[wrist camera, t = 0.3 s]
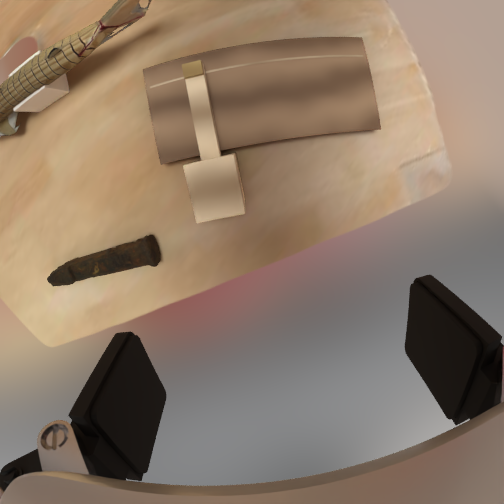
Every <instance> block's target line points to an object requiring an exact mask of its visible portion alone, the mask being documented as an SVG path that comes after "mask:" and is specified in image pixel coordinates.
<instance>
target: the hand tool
mask: <svg viewBox="0 0 504 504" xmlns="http://www.w3.org/2000/svg"><path fill="white" fill-rule="evenodd" d="M159 262H160V252H159V249H158V245H157V242H156V240H155V238H154V237H153V235H149V236H145V237H144V238H143V239H138V240H137V241H136V242H131V243H126V244H123V245H119V246H116V248H110V249H107V250H104V251H101V252H98V253H94V254H91V255H88V256H85V257H81V258H75V259H73V260H71V261H68V262H67V263H65V264H64V265H62V266H59V267H58V268H57V269H56V270H55V271H53V272H52V273H51V274H50V276H49V277H48V278H47V280H48V282H49V283H51V284H52V286H61V285H70V284H73V283H74V282H76V281H80V280H83V279H87V278H91V277H97V276H102V275H107V274H111V273H115V272H120V271H124V270H129V269H133V268H136V267H141V266H146V265H150V266H154V267H155V266H157V265H158V263H159Z"/></svg>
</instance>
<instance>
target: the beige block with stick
mask: <svg viewBox="0 0 504 504" xmlns="http://www.w3.org/2000/svg"><path fill="white" fill-rule="evenodd" d="M182 69H183V75H184V78H185V81H186V86H187V91H188V97H189V102H190V107H191V112H192V117H193V122H194V128H195V132H196V137H197V142H198V147H199V152H200V157H201V160H198V161H194V162H191V163H188V164H186V165H183V168H184V172H185V177H186V181H187V186H188V190H189V194H190V199H191V203H192V207H193V212H194V216H195V220H196V223H201V222H206V221H211V220H216V219H221V218H226V217H232V216H237V215H242V214H245V197H244V192H243V187H242V182H241V176H240V171H239V166H238V161H237V156H236V153H231V154H226V155H221V151H220V146H219V141H218V136H217V131H216V126H215V121H214V116H213V111H212V106H211V101H210V96H209V91H208V85H207V80H206V75H205V70H204V65H203V62H202V61H201V60H198V61H194V62H190V63H186V64H182Z"/></svg>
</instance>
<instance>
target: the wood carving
mask: <svg viewBox="0 0 504 504" xmlns="http://www.w3.org/2000/svg"><path fill="white" fill-rule="evenodd" d="M150 2H151V0H149V3H148V5H147V7H146V8H142V7H140V4H139V0H118V1H117V2H116V3H115V4H114V6H113V7H112V8H111V9H109V11H108V12H107V13H106V14H105V15H104V16H103V17H102V18H101V20H99V21H97V22H95V23H93V24H91V25H89V26H88V27H86V28H84V29H83V30H81V31H79V32H77V33H75V34H73V35H71V36H69V37H67V38H65V39H63V40H61V41H59V42H57V43H55V44H54V45H52V46H50V47H49V48H47V49H45V50H43V51H41V50H39V51H38V52H36V53H35V54H34V55H32V56H31V57H30V58H29V59H27V60H26V61H25V62H24V63H23V64H21V65H20V66H19V67H18V68H17V69H15V70H14V71H13V72H12V73H11V74H10V75H9V78H8V79H7V80H6V81H4V82H3V83H2V84H1V85H0V136H1V135H13V134H15V133H16V132H17V129H18V127H19V126H20V125H19V126H17V127H16V128H15V126H16V120H17V115H18V113H19V112H41V111H42V110H43V109H45V108H46V107H48V106H49V105H51V104H52V103H53V102H55V101H56V100H58V99H60V98H61V97H63V96H64V95H66V94H67V93H69V92H70V91H69V86H68V81H67V76H66V73H67V72H69V71H70V70H71V69H72V68H73V67H74V66H75V65H76V64H78V63H79V62H81V61H82V60H83V59H84V58H85V57H87V56H88V55H89V54H90V53H91V52H92V51H93V50H94V49H96V48H97V47H98V46H100V45H101V44H103V43H104V42H106V41H107V40H109V39H110V38H112V37H113V36H115V35H116V34H118V33H119V32H121V31H122V30H124V29H125V28H127V27H129V26H130V25H132V24H133V23H135V22H136V21H137V20H139V19H140V18H142V17H143V16H145V13H146V11H147V10H149V9H148V7H149V4H150ZM127 24H128V25H127ZM124 25H127V26H125V27H124V28H123V29H121V30H120V31H118V32H117V33H116V34H114V35H112V36H109V35H111V34H112V33H114V32H113V31H114V30H116V29H117V28H119V27H122V26H124ZM111 32H112V33H111ZM108 36H109V37H108Z"/></svg>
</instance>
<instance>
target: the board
mask: <svg viewBox="0 0 504 504" xmlns="http://www.w3.org/2000/svg"><path fill="white" fill-rule="evenodd" d="M198 60H201V61H202V62H203V65H204V70H205V75H206V80H207V85H208V91H209V96H210V101H211V106H212V111H213V116H214V121H215V126H216V131H217V136H218V141H219V146H220V151H221V150H226V149H231V148H236V147H242V146H247V145H253V144H258V143H264V142H270V141H277V140H283V139H290V138H297V137H305V136H313V135H321V134H330V133H340V132H351V131H364V130H379V129H381V126H380V119H379V113H378V107H377V102H376V96H375V91H374V86H373V81H372V77H371V72H370V68H369V63H368V59H367V55H366V51H365V47H364V43H363V40H362V38H359V37H317V38H298V39H285V40H275V41H266V42H258V43H251V44H245V45H239V46H233V47H227V48H222V49H217V50H212V51H208V52H203V53H199V54H195V55H191V56H187V57H183V58H179V59H175V60H172V61H168V62H165V63H162V64H158V65H155V66H152V67H149V68H146V69H143V74H144V80H145V86H146V92H147V98H148V103H149V109H150V114H151V119H152V125H153V130H154V135H155V140H156V144H157V149H158V154H159V159H160V163H161V165H162V164H166V163H170V162H173V161H177V160H181V159H186V158H190V157H194V156H198V155H200V152H199V147H198V142H197V137H196V132H195V128H194V122H193V117H192V112H191V107H190V102H189V97H188V91H187V86H186V81H185V78H184V75H183V69H182V64H186V63H190V62H194V61H198Z"/></svg>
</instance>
